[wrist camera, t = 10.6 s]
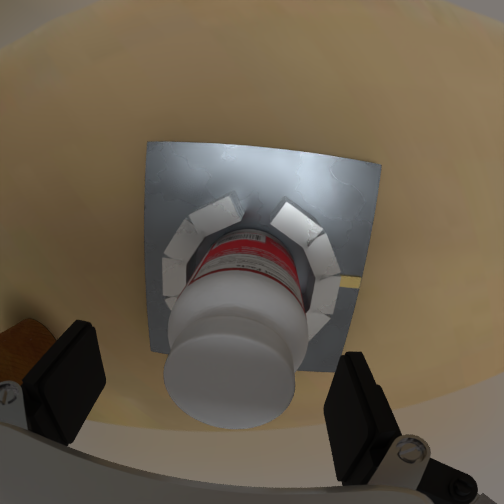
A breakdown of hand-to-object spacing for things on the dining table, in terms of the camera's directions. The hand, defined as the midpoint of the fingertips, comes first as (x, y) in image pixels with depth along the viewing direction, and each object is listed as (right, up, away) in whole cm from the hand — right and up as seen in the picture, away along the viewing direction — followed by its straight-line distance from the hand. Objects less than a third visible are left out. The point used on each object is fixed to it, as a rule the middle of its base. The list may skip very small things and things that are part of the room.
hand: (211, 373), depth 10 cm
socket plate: (+2, +3, +11) cm, 12 cm away
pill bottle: (+1, +3, +10) cm, 11 cm away
